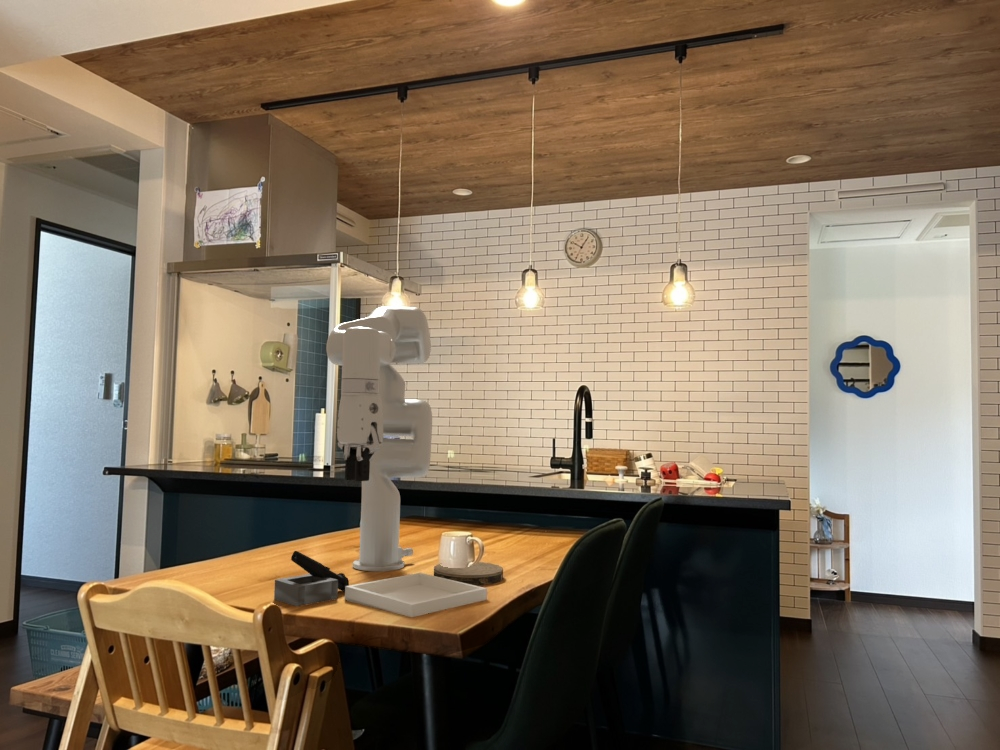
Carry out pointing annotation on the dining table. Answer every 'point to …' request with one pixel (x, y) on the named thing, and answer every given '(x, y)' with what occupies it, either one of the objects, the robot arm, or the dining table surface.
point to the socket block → (305, 589)
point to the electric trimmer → (319, 569)
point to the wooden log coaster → (472, 573)
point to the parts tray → (414, 594)
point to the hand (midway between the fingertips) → (357, 479)
